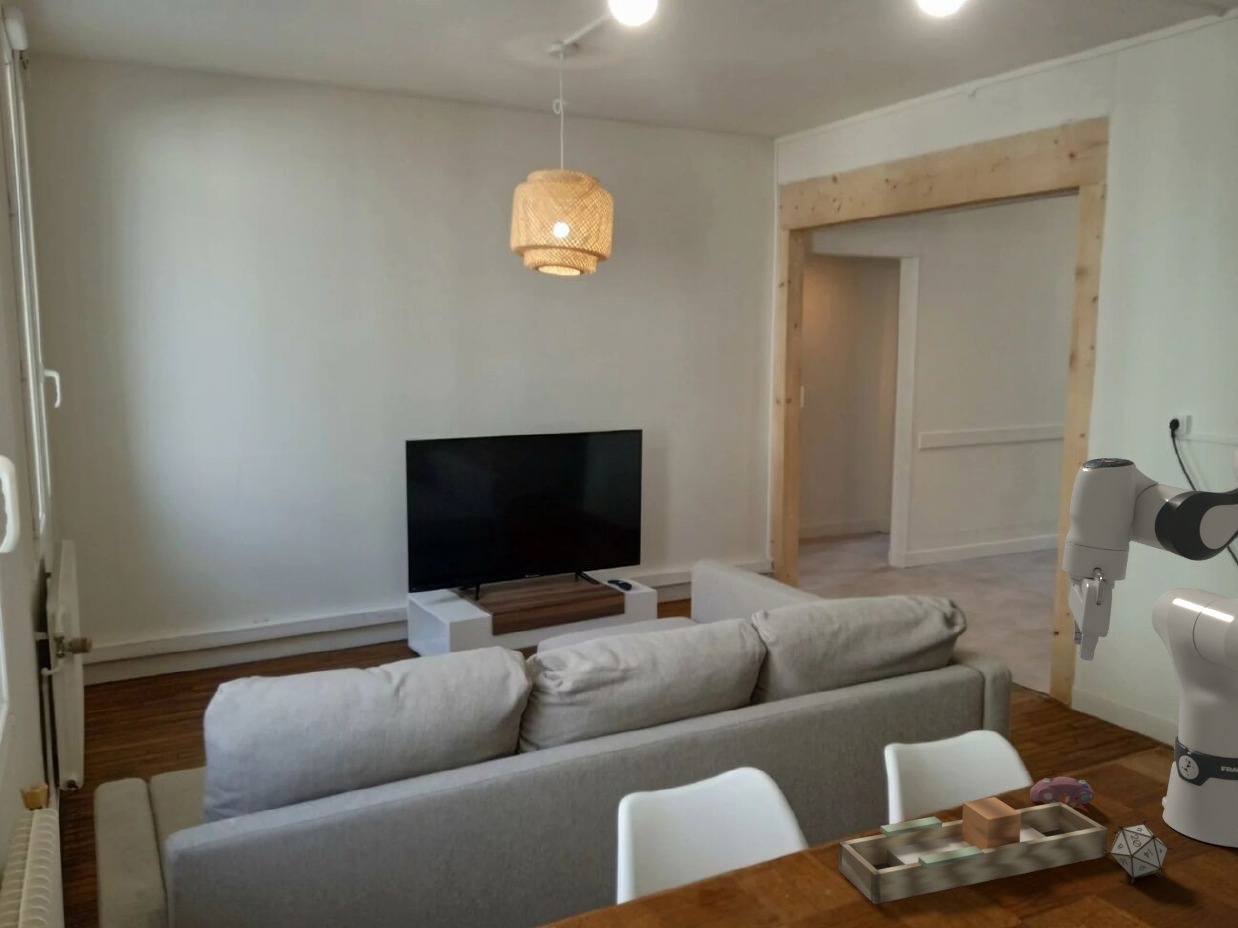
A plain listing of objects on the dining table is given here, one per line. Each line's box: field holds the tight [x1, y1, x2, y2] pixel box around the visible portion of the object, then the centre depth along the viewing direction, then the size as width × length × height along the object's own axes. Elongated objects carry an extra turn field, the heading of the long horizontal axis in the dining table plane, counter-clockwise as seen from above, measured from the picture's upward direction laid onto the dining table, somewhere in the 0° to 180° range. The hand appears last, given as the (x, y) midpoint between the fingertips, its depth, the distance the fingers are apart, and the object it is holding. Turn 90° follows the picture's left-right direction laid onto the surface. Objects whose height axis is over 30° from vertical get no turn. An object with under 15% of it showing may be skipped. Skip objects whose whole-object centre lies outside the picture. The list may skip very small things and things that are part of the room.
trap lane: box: [837, 801, 1109, 905], centre depth 151 cm, size 42×12×5 cm, turn 108°
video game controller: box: [1029, 776, 1095, 809], centre depth 169 cm, size 10×5×7 cm, turn 82°
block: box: [961, 796, 1021, 850], centre depth 151 cm, size 6×6×6 cm
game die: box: [1103, 818, 1175, 884], centre depth 147 cm, size 9×8×10 cm
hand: (1082, 651), depth 150 cm, fingers open, 8 cm apart
